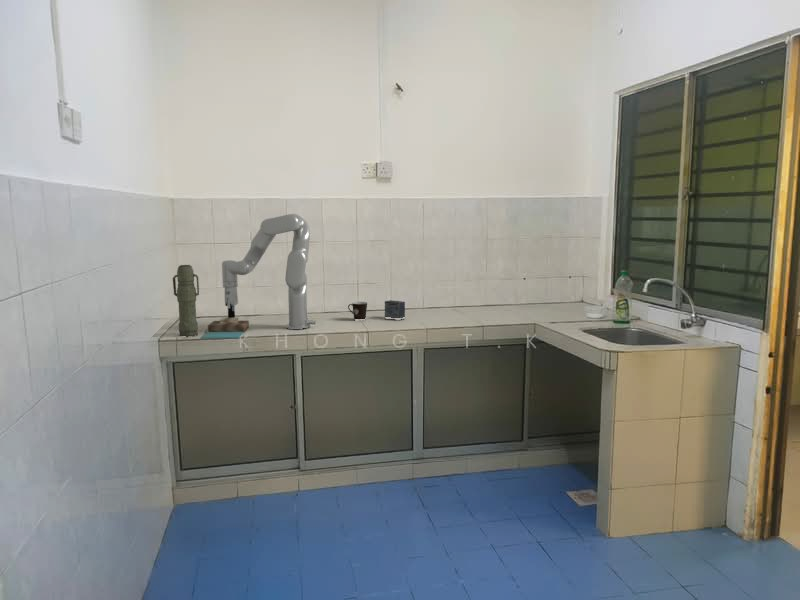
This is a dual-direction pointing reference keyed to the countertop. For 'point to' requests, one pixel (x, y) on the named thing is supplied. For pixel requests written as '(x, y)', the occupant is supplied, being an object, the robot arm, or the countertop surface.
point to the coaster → (229, 320)
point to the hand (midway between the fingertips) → (231, 318)
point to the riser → (228, 326)
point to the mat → (222, 335)
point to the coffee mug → (359, 309)
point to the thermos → (186, 300)
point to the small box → (394, 309)
